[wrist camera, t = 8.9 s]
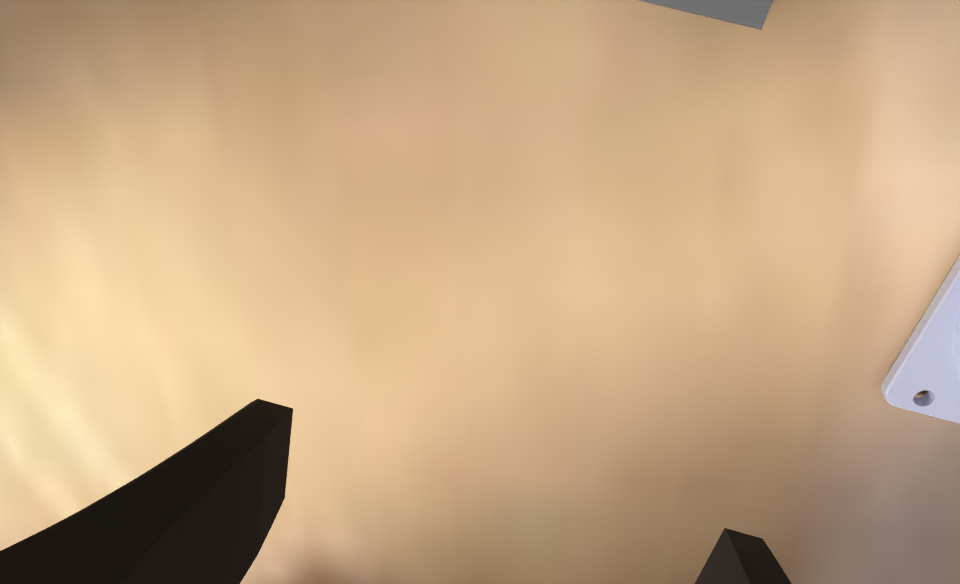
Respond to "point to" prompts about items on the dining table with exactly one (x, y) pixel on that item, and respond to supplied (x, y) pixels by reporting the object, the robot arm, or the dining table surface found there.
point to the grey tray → (723, 9)
